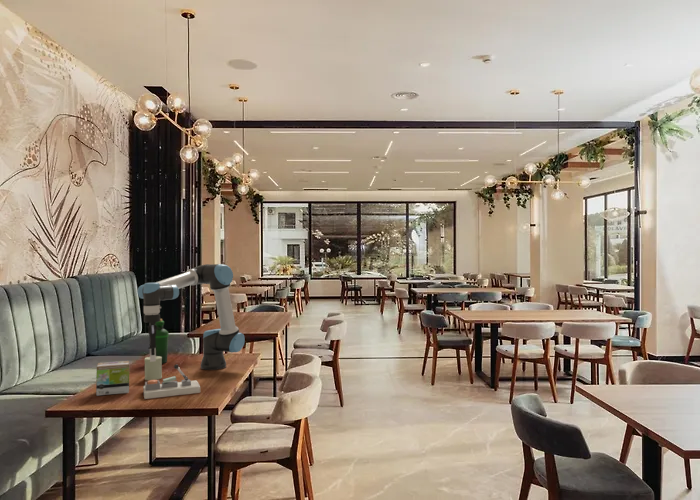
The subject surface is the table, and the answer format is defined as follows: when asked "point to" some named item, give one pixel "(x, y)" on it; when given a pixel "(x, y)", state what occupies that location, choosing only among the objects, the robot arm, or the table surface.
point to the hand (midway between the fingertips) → (152, 361)
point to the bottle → (161, 341)
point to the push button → (152, 381)
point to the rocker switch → (169, 379)
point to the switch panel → (170, 388)
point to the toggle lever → (180, 372)
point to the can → (153, 368)
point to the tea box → (112, 378)
